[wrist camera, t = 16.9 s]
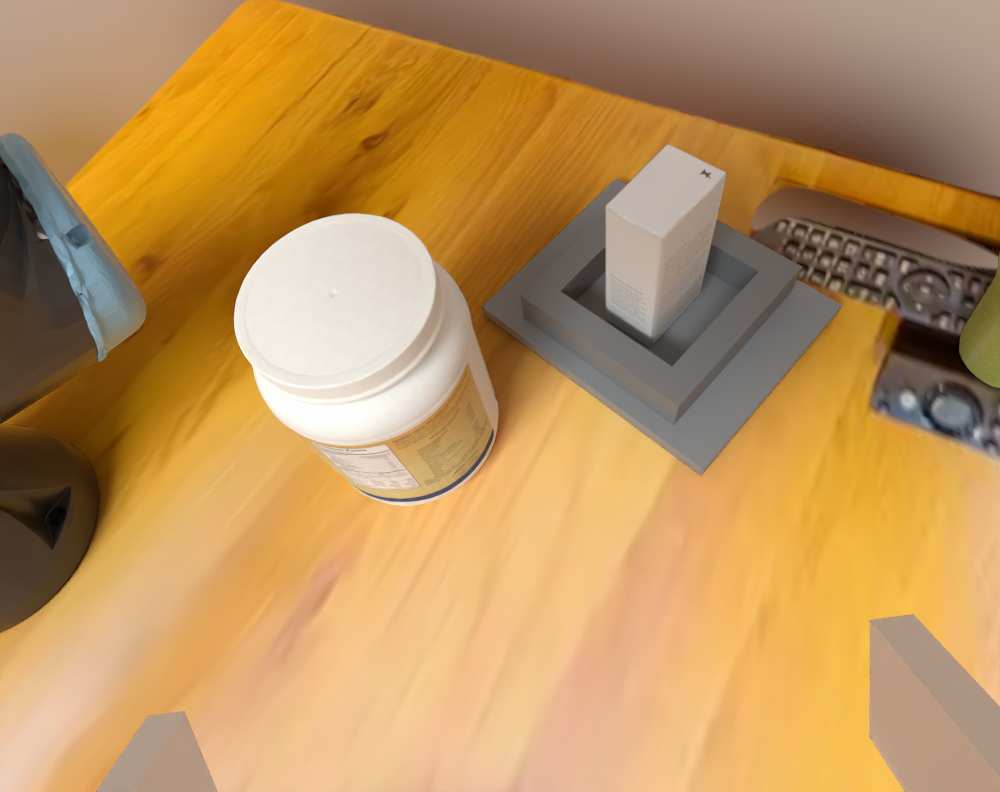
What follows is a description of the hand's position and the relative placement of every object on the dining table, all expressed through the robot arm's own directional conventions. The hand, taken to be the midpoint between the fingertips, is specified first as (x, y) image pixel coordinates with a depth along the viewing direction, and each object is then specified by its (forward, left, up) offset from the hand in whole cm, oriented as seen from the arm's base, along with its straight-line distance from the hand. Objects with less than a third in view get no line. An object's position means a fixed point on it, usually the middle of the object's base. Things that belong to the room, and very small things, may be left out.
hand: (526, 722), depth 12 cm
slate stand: (-13, +25, -28) cm, 39 cm away
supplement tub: (-20, +7, -28) cm, 35 cm away
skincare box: (-13, +24, -27) cm, 38 cm away
